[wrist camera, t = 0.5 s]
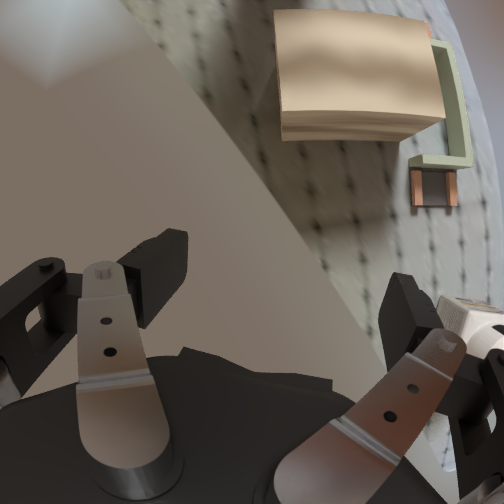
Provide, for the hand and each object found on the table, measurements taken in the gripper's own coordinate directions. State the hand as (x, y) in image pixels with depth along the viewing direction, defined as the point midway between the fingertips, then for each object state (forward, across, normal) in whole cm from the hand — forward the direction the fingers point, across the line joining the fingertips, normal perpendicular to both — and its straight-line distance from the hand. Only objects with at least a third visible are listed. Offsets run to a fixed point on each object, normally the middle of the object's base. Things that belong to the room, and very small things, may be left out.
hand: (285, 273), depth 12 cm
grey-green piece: (+29, -13, -11) cm, 34 cm away
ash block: (+28, -2, -9) cm, 29 cm away
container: (+23, -23, +15) cm, 36 cm away
